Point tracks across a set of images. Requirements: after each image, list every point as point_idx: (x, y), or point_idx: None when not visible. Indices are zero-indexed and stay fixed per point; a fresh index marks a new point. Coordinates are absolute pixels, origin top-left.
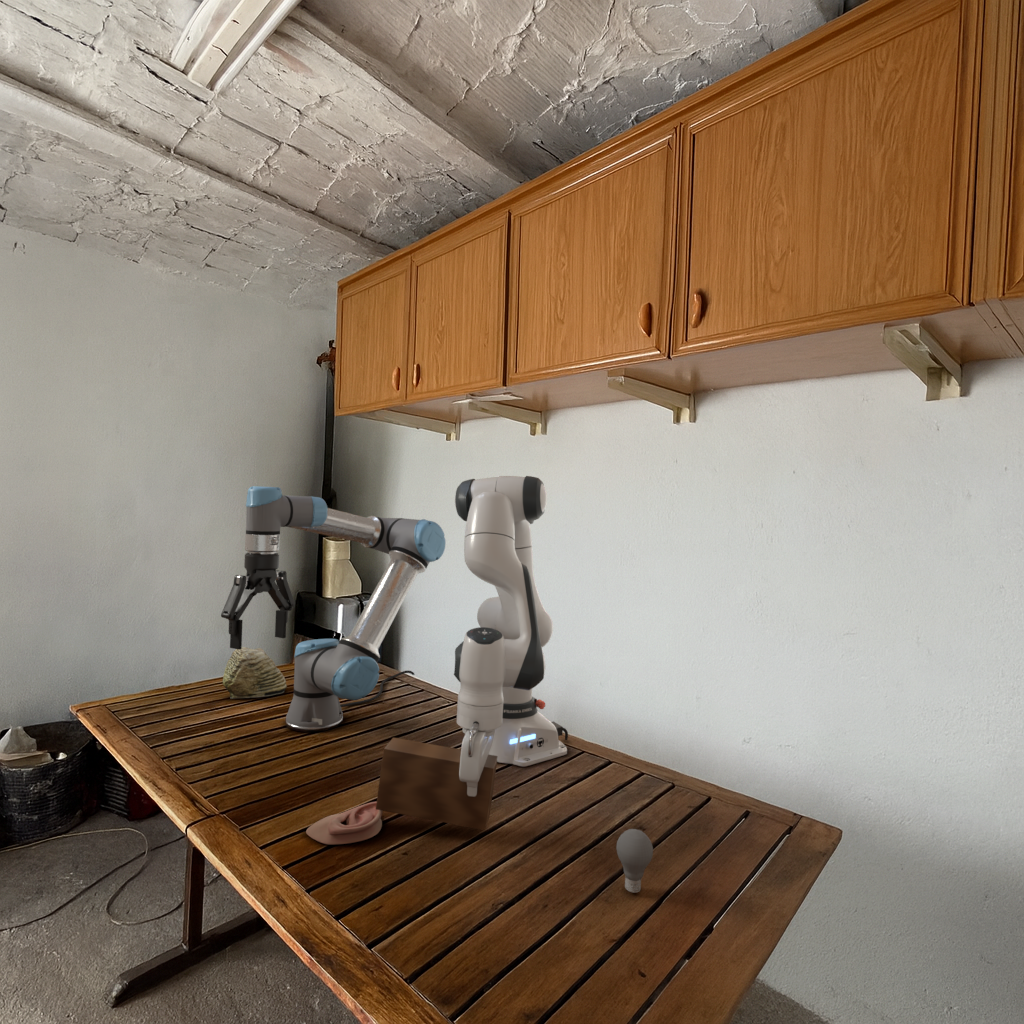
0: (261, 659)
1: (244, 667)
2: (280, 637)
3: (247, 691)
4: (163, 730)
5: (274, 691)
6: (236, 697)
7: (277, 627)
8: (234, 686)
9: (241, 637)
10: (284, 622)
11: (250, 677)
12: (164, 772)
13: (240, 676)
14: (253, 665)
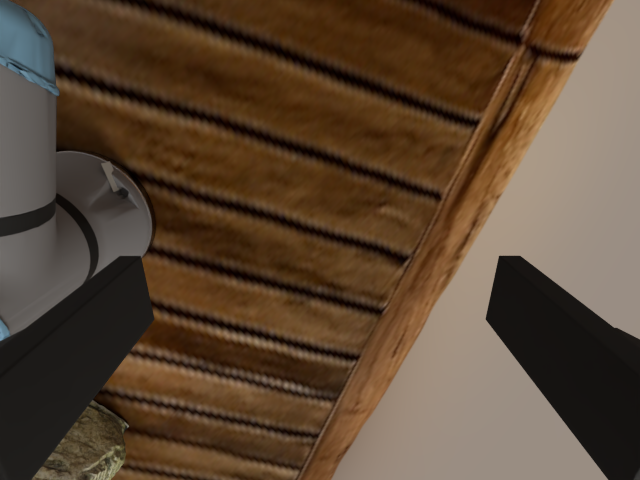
0: None
1: (75, 468)
2: (143, 281)
3: (98, 417)
4: (297, 397)
5: None
6: (120, 419)
7: (116, 345)
8: (115, 439)
9: (544, 293)
10: (61, 317)
11: (76, 440)
12: (422, 266)
13: (94, 452)
14: (50, 464)
